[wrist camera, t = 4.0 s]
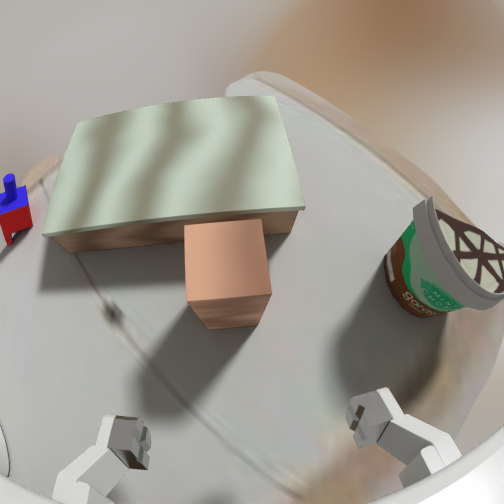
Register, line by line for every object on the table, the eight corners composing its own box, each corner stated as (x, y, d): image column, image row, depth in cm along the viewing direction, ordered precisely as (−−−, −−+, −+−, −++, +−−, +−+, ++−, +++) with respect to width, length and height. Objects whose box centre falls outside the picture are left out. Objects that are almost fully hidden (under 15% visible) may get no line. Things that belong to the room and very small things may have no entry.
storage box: (67, 256, 24) (41, 234, 19) (92, 150, 29) (78, 122, 25) (294, 235, 25) (305, 206, 21) (270, 128, 31) (274, 95, 27)
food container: (360, 310, 23) (425, 272, 14) (371, 250, 25) (426, 192, 16) (456, 340, 22) (527, 318, 13) (460, 286, 24) (523, 250, 15)
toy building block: (35, 235, 26) (25, 185, 20) (7, 245, 23) (-8, 196, 18) (31, 216, 27) (23, 166, 21) (4, 225, 24) (-8, 176, 19)
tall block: (208, 329, 22) (186, 301, 13) (205, 282, 23) (184, 225, 14) (257, 325, 22) (271, 293, 13) (252, 278, 24) (261, 218, 15)
